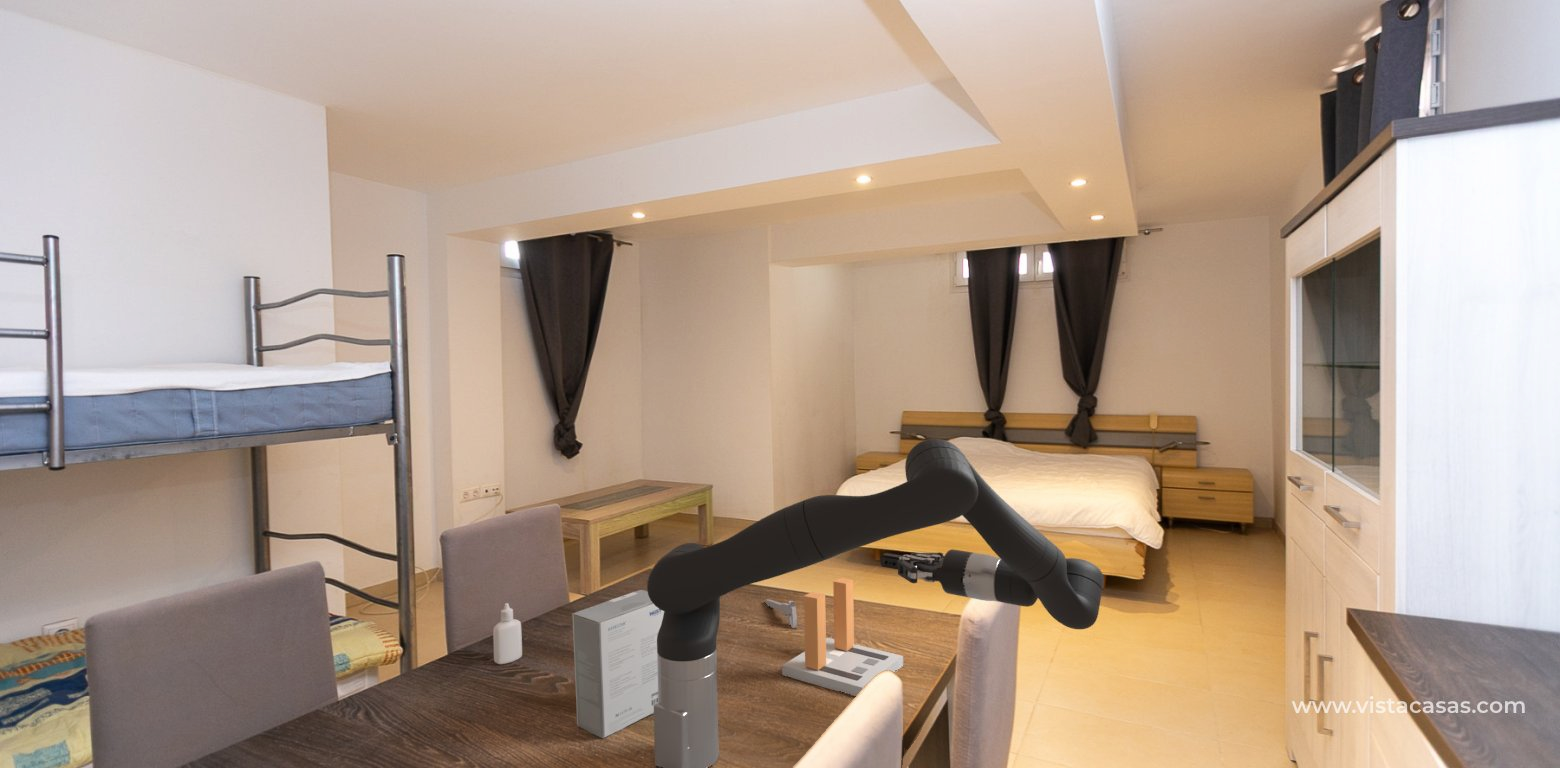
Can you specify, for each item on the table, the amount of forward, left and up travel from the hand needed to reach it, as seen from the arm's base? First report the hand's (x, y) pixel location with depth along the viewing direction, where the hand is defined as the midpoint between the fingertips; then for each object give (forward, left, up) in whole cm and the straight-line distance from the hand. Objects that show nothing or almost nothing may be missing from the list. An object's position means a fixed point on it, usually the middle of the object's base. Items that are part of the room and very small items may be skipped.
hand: (882, 559), depth 132 cm
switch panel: (+6, +12, -25) cm, 29 cm away
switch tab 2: (+11, +15, -23) cm, 30 cm away
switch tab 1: (0, +15, -23) cm, 28 cm away
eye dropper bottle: (-28, +74, -26) cm, 83 cm away
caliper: (+25, +41, -26) cm, 54 cm away
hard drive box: (-31, +35, -26) cm, 54 cm away
